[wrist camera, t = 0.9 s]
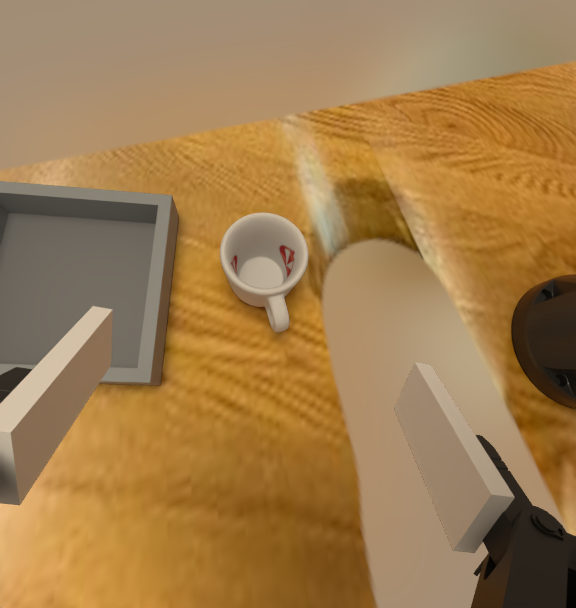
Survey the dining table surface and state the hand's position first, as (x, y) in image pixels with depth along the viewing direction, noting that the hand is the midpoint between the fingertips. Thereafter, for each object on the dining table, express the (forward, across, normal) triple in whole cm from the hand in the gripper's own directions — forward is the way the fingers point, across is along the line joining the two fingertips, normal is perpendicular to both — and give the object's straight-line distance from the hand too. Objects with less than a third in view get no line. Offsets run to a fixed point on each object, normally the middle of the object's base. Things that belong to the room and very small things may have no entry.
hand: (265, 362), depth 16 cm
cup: (+24, +1, -8) cm, 25 cm away
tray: (+22, -18, -11) cm, 30 cm away
